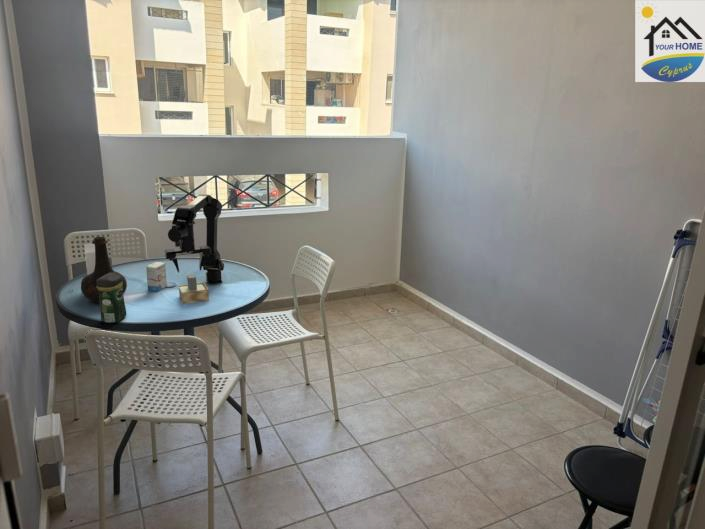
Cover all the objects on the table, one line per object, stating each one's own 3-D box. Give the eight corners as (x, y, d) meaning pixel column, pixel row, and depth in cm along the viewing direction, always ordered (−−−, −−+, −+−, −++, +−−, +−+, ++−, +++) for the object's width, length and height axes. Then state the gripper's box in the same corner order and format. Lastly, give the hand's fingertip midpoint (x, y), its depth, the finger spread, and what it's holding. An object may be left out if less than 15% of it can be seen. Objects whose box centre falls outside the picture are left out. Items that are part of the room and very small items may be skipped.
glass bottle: (79, 297, 225) (70, 235, 217) (122, 289, 236) (115, 230, 228) (88, 310, 212) (79, 244, 204) (133, 301, 222) (126, 239, 214)
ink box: (157, 292, 234) (155, 267, 231) (147, 291, 235) (145, 266, 231) (167, 286, 242) (165, 262, 239) (158, 285, 243) (155, 261, 240)
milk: (104, 291, 233) (99, 244, 226) (89, 293, 231) (83, 245, 224) (104, 287, 238) (99, 241, 232) (90, 288, 236) (84, 242, 229)
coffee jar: (111, 313, 209) (105, 270, 204) (129, 315, 209) (125, 271, 203) (97, 323, 200) (91, 278, 195) (117, 324, 199) (111, 279, 194)
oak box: (204, 293, 235) (203, 282, 233) (209, 300, 226) (208, 289, 225) (179, 296, 230) (178, 285, 228) (183, 304, 221) (182, 292, 220)
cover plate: (202, 285, 232) (201, 272, 230) (205, 291, 225) (205, 277, 224) (179, 288, 228) (178, 275, 226) (182, 294, 221) (181, 280, 219)
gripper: (205, 230, 231) (207, 263, 235) (161, 234, 223) (164, 268, 227) (210, 236, 221) (212, 270, 226) (164, 240, 213) (167, 275, 218)
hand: (189, 271), depth 224 cm, fingers open, 9 cm apart
